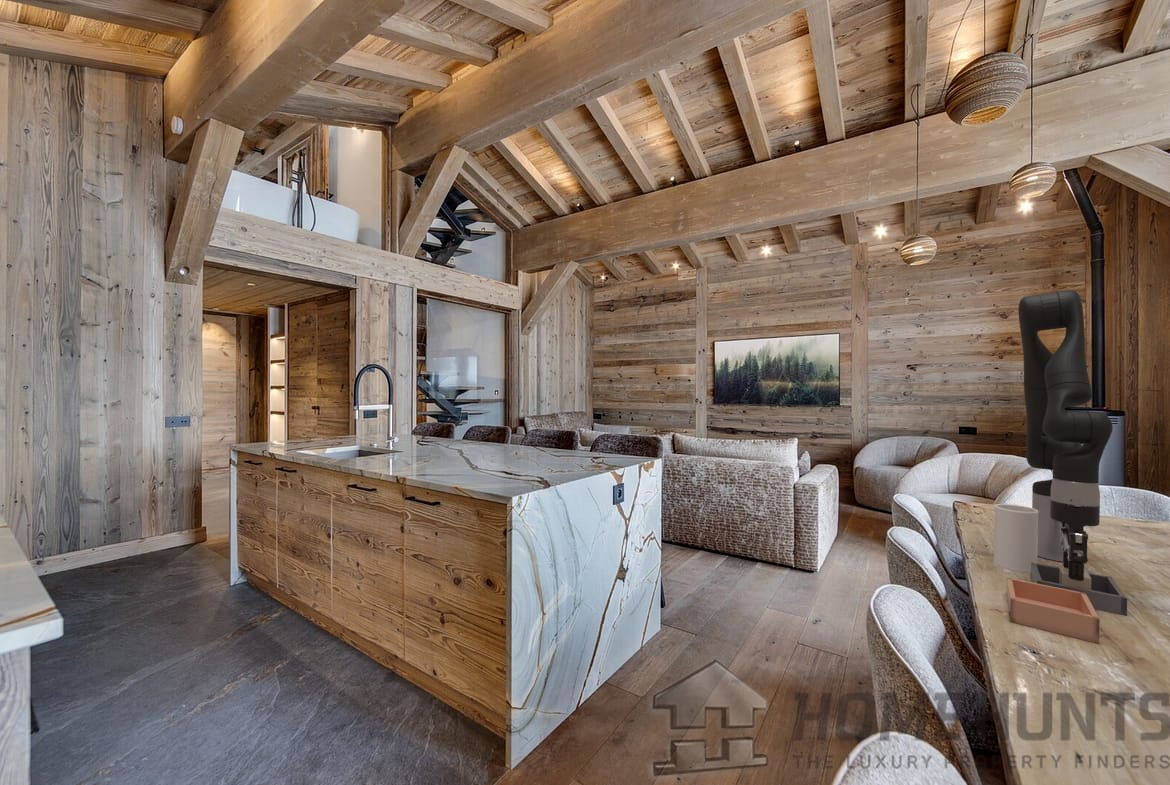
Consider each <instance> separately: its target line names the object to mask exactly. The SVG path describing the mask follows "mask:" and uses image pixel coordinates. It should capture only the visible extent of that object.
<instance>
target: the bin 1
mask: <svg viewBox="0 0 1170 785" xmlns="http://www.w3.org/2000/svg"><path fill="white" fill-rule="evenodd" d="M1006 598H1007V604H1008V616H1009V622H1011V623H1013V624H1019V625H1023V626H1027V627H1031V628H1035V629H1038V630H1039V629H1040V630H1043V631H1047V632H1051V633H1056V634H1059V635H1064V636H1067V637H1072V638H1076V639H1080V640H1083V641H1088V642H1093V643H1097V644H1100V625H1101V624H1100V622H1101V620H1100V617H1099V614H1098V613H1097V611H1096V609H1094V608H1093V606H1092V604H1091V602H1090V600H1089V599H1088V597H1087V595H1086V593H1082V592H1077V591H1072V590H1067V589H1062V588H1057V587H1052V586H1047V585H1042V584H1037V583H1033V582H1032V581H1027V580H1023V579H1016V578H1012V577H1006Z"/></svg>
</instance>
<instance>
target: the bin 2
mask: <svg viewBox="0 0 1170 785" xmlns="http://www.w3.org/2000/svg"><path fill="white" fill-rule="evenodd" d="M1059 568H1060V567H1058V566H1053V565H1046V564H1041V563H1038V562H1037V563H1031V572H1030V578H1031V582H1032V583H1037V584H1042V585H1047V586H1052V587H1057V588H1062V589H1067V590H1072V591H1077V592H1082V593H1086V595H1087V597H1088V599H1089V600H1090V602H1091V604H1092V606H1093V608H1094V610H1095V611H1096V610H1097V611H1101V612H1106V613H1111V614H1114V615H1115V614H1116V615H1120V616H1125V617H1128V597H1127V596H1126V595H1125V592H1123V591H1122V589H1121V588H1120V587H1119V586H1120V585H1118V584H1117V582H1116V581H1115V579H1113V577H1112V576H1108V575H1103V574H1096V573H1091V572H1087V573H1088V574H1089V576H1090V577H1091V590H1087V589H1082V588H1077V587H1072V586H1067V585H1062V584H1059Z"/></svg>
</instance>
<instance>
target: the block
mask: <svg viewBox="0 0 1170 785" xmlns="http://www.w3.org/2000/svg"><path fill="white" fill-rule="evenodd" d="M1068 570H1069V569H1068V568H1065V567H1059V584H1062V585H1067V586H1072V587H1077V588H1082V589H1087V590H1091V577H1090V576H1089V574H1088V573H1089V572H1086V571H1084V580H1083V581H1078V580H1073V579H1070V578H1069V576H1068Z"/></svg>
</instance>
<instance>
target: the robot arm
mask: <svg viewBox="0 0 1170 785" xmlns="http://www.w3.org/2000/svg"><path fill="white" fill-rule="evenodd" d="M1018 303H1019V304H1018V310H1017V311H1018V321H1019V329H1020V337H1021V344H1022V354H1023V355H1022V356H1023V392H1024V402H1025V413H1026V435H1025V436H1026V438H1025V440H1026V441H1025V458H1026V461H1027V464H1028V466H1030V467H1031V468H1034V469H1039V470H1047V471H1048V470H1050V471H1052V479H1046V480H1039V481H1038V480H1037V481H1036V482H1034V483H1033V484H1032V487H1031V489H1032V492H1031V493H1032V494H1031V495H1032V498H1031V499H1032V500H1031V502H1032V504H1031V506H1032V507H1031V508H1033V509H1036V510H1038V557H1039V558H1043V559H1047V560H1050V561H1055V562H1062V565H1063V568H1065V569H1069V570H1068V576H1069V578H1070V579H1073V580H1078V581H1083V580H1084V572H1085V565H1086V564H1088V562H1089V560H1088V551H1089V549H1088V548H1089V547H1088V542H1089V534H1088V533H1087V531H1086V530H1084V529H1085V528H1084V527H1086V526H1087V527H1098V526H1099V525H1100V520H1101V519H1100V516H1101V514H1100V512H1101V491H1100V490H1101V489H1100V484H1099V478H1100V477H1099V476H1100V472H1099V471H1100V462H1101V459H1102V457H1103V454H1104V450H1105V448H1106V446H1107V444H1108V442H1109V440H1110V438H1111V435H1112V433H1113V422H1112V419H1111V418H1110V417H1109V416H1108V415H1107V414H1106V413H1104V412H1101V411H1095V410H1094V411H1092V410H1066V408H1069V407H1077V406H1081V405H1085V404H1088V403H1089V402H1090V401H1091V400H1092V398H1093V391H1092V386H1091V382H1090V376H1089V373H1088V369H1087V368H1088V367H1087V361H1086V335H1085V333H1086V332H1085V331H1086V330H1085V321H1084V320H1085V318H1084V307H1083V302H1082V299H1081V296H1080V294H1079V293H1078V292H1077V291H1076V290H1072V289H1065V290H1064V289H1063V290H1058V291H1050V292H1045V293H1038V294H1032V295H1031V294H1030V295H1027V296H1026V295H1025V296H1024V297H1022V298H1020V301H1019V302H1018ZM1059 329H1065V336H1064V338H1063V340H1062V342H1061V343H1060V345H1059V346H1058V348H1057V349H1056V351H1055V352H1054V353H1053V352H1051V350H1049V349H1048V348H1047V347H1046V345H1045V343H1043V341H1042V340H1041V339H1040V337H1039V332H1042V331H1051V330H1059ZM1043 433H1044V435H1043ZM1082 443H1083V445H1082Z"/></svg>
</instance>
